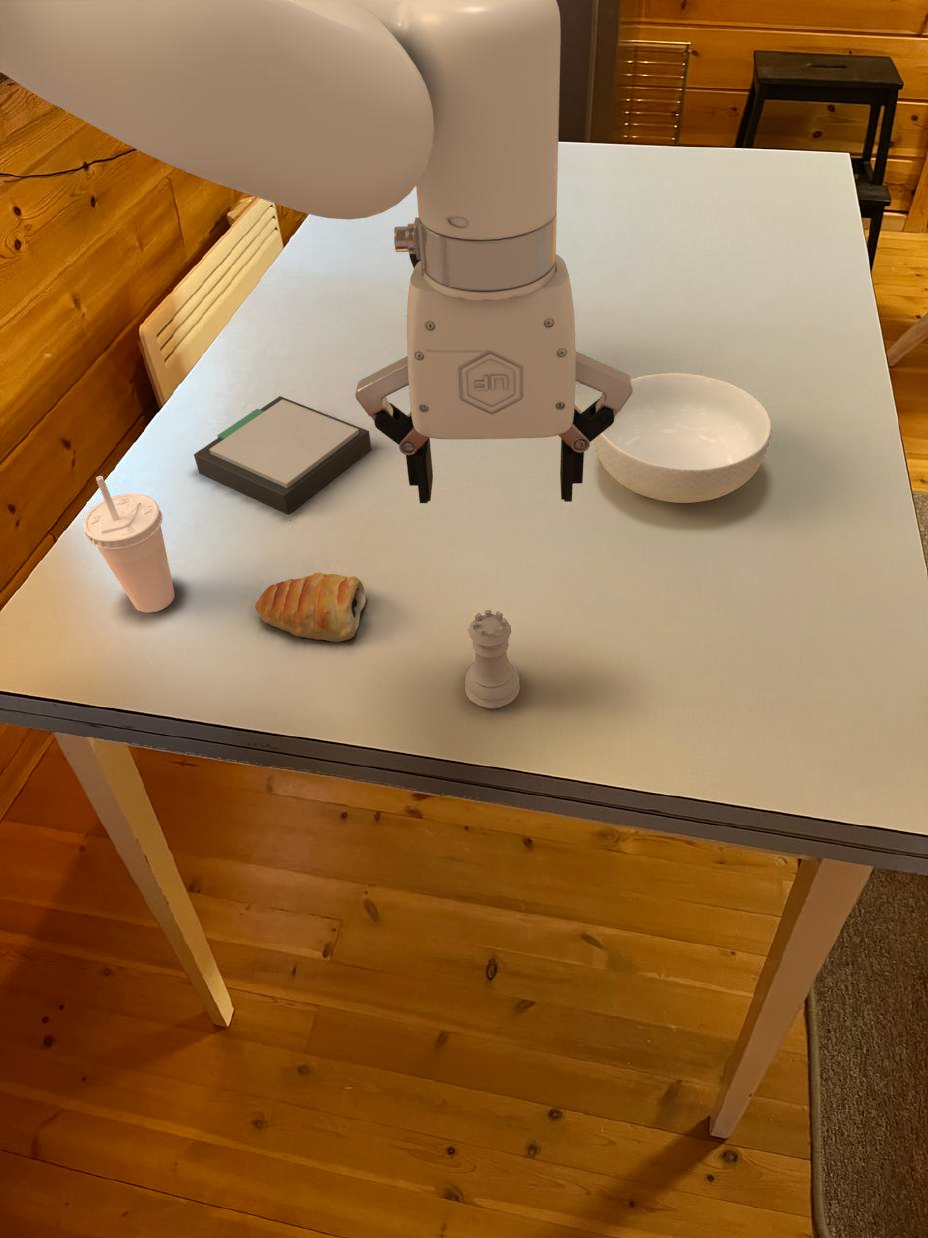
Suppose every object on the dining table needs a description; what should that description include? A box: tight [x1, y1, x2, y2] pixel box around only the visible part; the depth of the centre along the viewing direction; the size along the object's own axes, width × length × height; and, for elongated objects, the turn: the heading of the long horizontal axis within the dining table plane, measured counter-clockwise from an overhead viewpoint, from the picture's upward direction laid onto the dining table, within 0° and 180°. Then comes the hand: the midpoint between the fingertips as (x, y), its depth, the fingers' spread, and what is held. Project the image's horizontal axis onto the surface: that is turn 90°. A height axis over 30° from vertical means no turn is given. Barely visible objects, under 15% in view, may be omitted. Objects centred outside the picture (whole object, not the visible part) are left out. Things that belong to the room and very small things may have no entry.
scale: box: [193, 395, 372, 515], centre depth 98 cm, size 13×13×3 cm
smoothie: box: [82, 475, 176, 614], centre depth 80 cm, size 6×6×14 cm
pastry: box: [254, 572, 367, 643], centre depth 81 cm, size 9×7×4 cm
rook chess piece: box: [464, 609, 521, 710], centre depth 72 cm, size 4×4×8 cm
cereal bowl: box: [593, 372, 773, 504], centre depth 91 cm, size 17×17×7 cm
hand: (495, 490), depth 64 cm, fingers open, 9 cm apart
